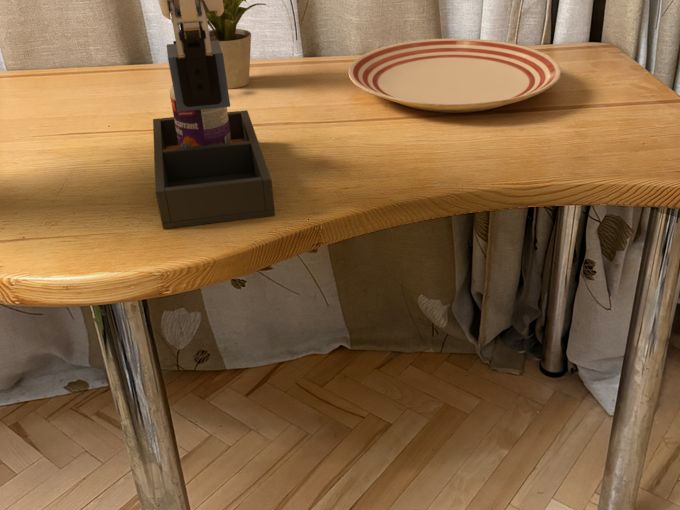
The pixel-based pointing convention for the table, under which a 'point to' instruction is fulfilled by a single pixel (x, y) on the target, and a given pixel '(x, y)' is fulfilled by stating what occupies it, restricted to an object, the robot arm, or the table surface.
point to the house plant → (232, 41)
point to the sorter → (211, 176)
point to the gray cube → (176, 83)
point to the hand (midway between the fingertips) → (200, 92)
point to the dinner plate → (454, 74)
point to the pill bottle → (200, 125)
